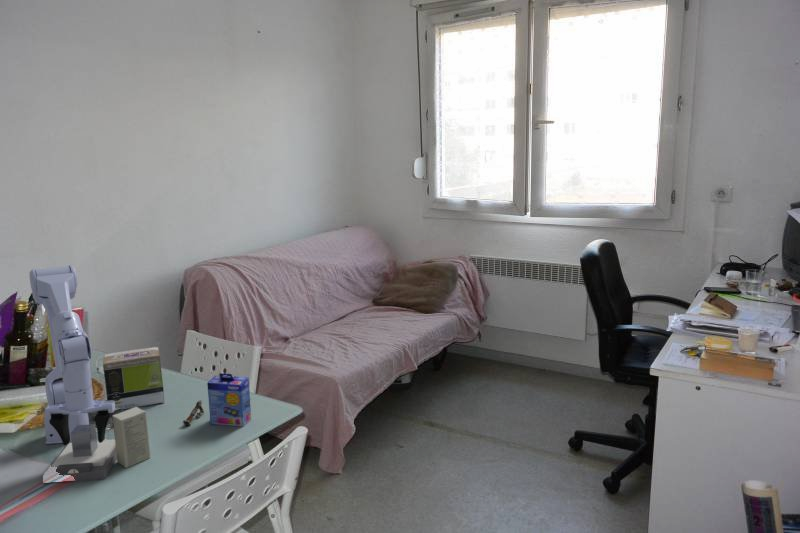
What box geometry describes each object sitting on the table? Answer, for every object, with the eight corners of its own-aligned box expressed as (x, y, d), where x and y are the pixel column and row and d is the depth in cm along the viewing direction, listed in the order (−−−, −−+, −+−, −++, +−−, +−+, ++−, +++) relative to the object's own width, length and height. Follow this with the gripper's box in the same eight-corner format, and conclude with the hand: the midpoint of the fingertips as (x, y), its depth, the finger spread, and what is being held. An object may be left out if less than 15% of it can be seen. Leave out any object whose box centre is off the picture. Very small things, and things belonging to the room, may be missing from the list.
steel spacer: (73, 457, 137) (70, 433, 136) (79, 448, 141) (77, 425, 140) (91, 455, 138) (89, 431, 137) (97, 447, 142) (95, 424, 140)
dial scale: (42, 484, 131) (40, 470, 131) (67, 452, 145) (65, 440, 144) (104, 479, 133) (103, 466, 133) (123, 448, 147) (122, 436, 146)
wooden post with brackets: (207, 409, 167) (203, 398, 164) (193, 432, 160) (188, 421, 158) (202, 409, 167) (197, 398, 164) (187, 431, 161) (182, 420, 158)
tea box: (162, 391, 182) (159, 345, 179) (164, 403, 173) (160, 355, 170) (108, 399, 176) (103, 352, 173) (107, 413, 167) (102, 363, 164)
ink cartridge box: (208, 425, 159) (205, 374, 156) (218, 416, 165) (214, 366, 162) (243, 427, 158) (240, 376, 155) (251, 418, 163) (249, 368, 160)
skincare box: (141, 452, 145) (137, 405, 143) (151, 458, 142) (146, 410, 140) (116, 462, 140) (111, 414, 138) (125, 468, 137) (120, 420, 135)
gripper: (36, 396, 131) (43, 452, 134) (105, 392, 133) (111, 447, 136) (49, 384, 138) (56, 438, 141) (115, 380, 140) (121, 433, 143)
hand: (84, 441), depth 139 cm, fingers open, 7 cm apart
